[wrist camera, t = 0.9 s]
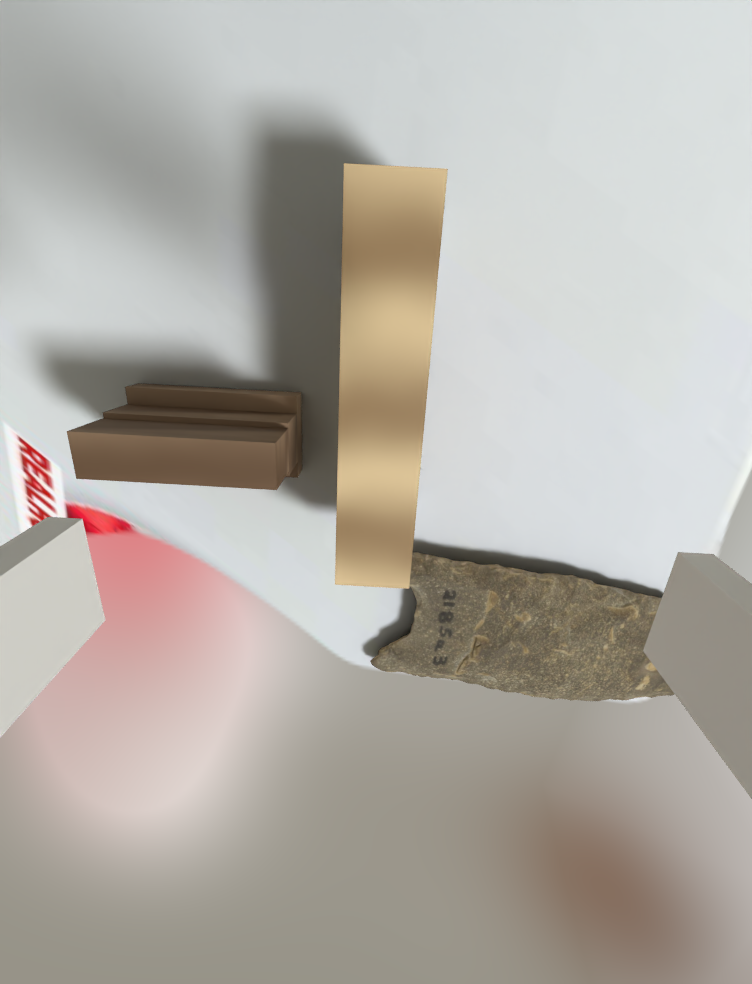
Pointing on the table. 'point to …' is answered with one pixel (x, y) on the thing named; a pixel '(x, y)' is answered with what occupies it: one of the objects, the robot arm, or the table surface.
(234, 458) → the stepped block
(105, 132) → the table surface
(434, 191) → the brass bar
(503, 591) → the stone tool
